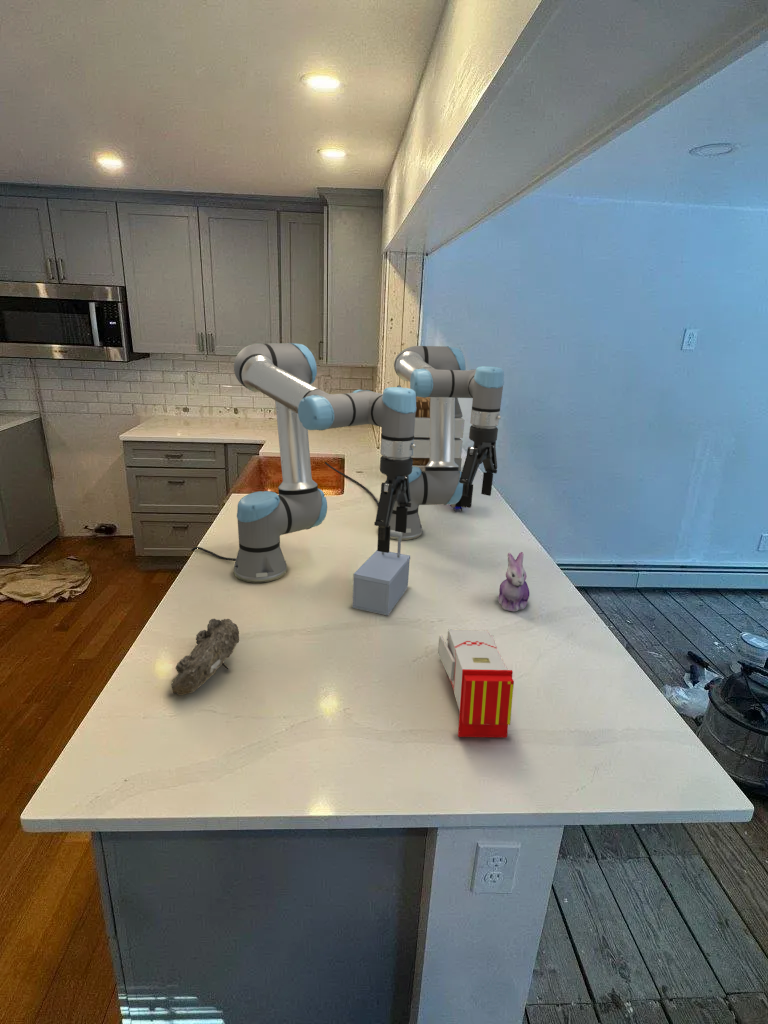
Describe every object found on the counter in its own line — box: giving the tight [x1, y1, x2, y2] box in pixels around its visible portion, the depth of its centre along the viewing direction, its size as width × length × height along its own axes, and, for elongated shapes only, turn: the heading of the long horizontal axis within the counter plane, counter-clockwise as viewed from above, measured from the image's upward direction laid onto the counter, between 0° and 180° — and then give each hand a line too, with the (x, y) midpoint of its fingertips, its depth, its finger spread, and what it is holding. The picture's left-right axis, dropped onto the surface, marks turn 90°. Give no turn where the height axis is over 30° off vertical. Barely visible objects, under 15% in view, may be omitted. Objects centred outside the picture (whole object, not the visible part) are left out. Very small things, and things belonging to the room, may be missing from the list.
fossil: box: [171, 618, 240, 696], centre depth 121 cm, size 22×10×15 cm
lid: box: [352, 530, 411, 585], centre depth 151 cm, size 18×10×9 cm, turn 160°
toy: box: [437, 628, 515, 738], centre depth 117 cm, size 12×13×30 cm
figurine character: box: [449, 496, 467, 512], centre depth 228 cm, size 7×8×15 cm
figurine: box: [497, 551, 530, 612], centre depth 152 cm, size 9×10×15 cm
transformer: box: [396, 384, 465, 472], centre depth 268 cm, size 34×33×41 cm
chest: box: [352, 559, 411, 616], centre depth 154 cm, size 17×10×9 cm, turn 160°
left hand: (392, 541), depth 138 cm, fingers open, 13 cm apart
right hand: (476, 500), depth 160 cm, fingers open, 13 cm apart
